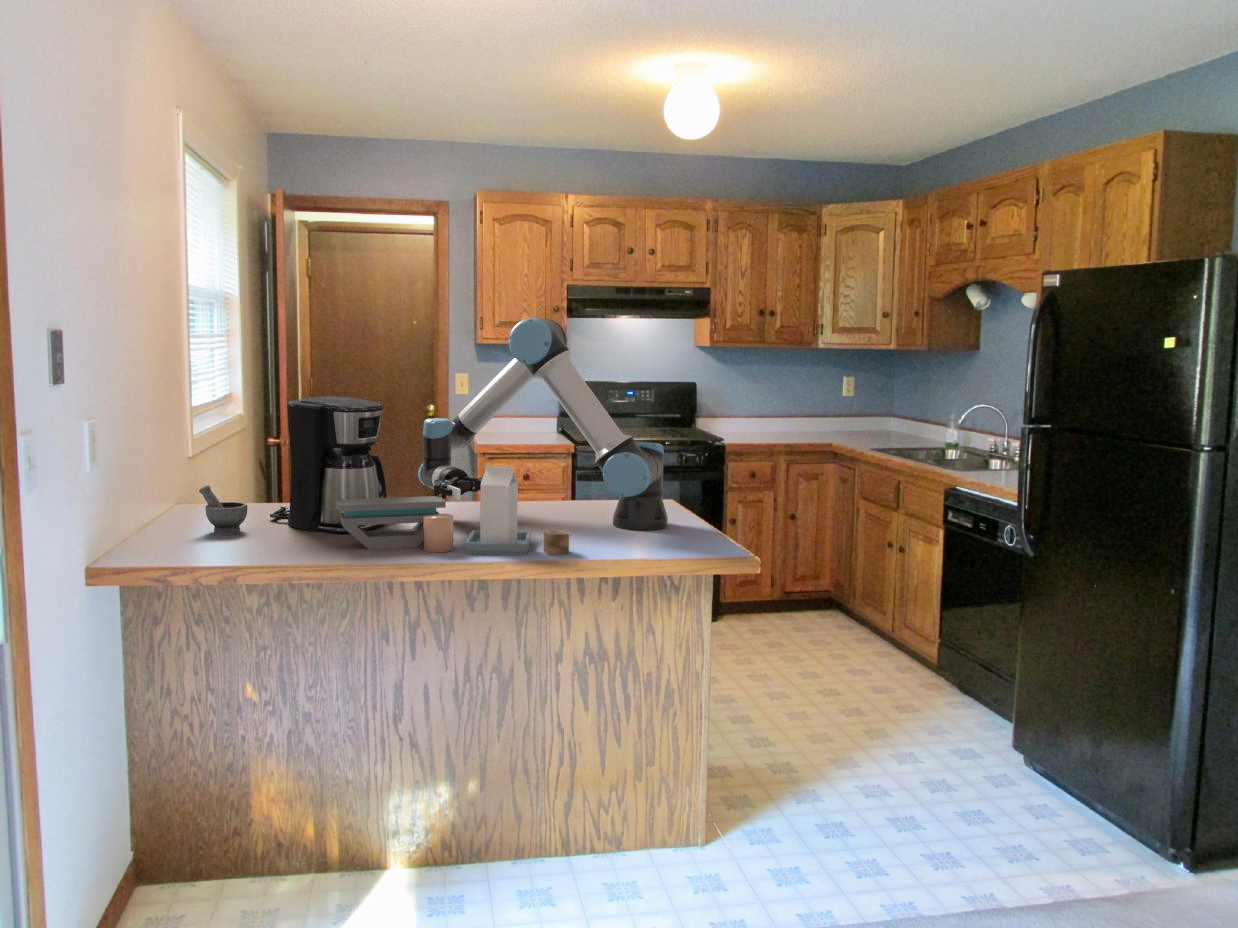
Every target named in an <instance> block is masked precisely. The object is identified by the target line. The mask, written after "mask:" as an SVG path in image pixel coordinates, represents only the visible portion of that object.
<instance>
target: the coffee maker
mask: <svg viewBox="0 0 1238 928" xmlns="http://www.w3.org/2000/svg"><path fill="white" fill-rule="evenodd" d="M286 408H287V409H286V410H287V425H288V426H287V427H288V439H289V440H288V443H289V456H290V458H289V459H290V460H289V461H290V490H289V506H285V507H284V506H280V508H279V509H278V510H276V511H273V513H270V514H269V517H270V518H272V519H279V520H286V521H287V525H288V526H290V527H291V528H296V529H300V530H305V531H310V532H311V531H312V532H317V531H319V532H326V533H334V534H335V533H336V534H341V535H345V534H350V533H349V532H348V531H347V530H345V529H344V527H343V525H342V523H341V513H345V512H339V511H338V509H337V507H336V500H339V499H368V498H387V486H386V485H387V484H386V479H385V472H384V470H383V466H382V462H381V460H380V458H379V456H377V455H374V454H371V453H370V451H372V446H373V445H375V444H376V443H377V442H378V439H379V434H380V429H381V424H382V419H383V412H384V409H383V408H384V407H383V404H381V403H380V402H377V401H374V400H369V399H362V398H356V397H347V396H338V395H330V396H329V395H326V396H325V395H323V396H311V397H304V398H303V397H302V398H299V399H293V400H289V401H288V402H287V404H286ZM287 509H288V510H287ZM384 525H385V524H377V525H359V526H360V527H361V528H362V529H363V530H364V531H369V530H373V529H375V528H378V527H379V528H380V527H381V526H384Z"/></svg>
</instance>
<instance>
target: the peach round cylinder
mask: <svg viewBox="0 0 1238 928" xmlns="http://www.w3.org/2000/svg"><path fill="white" fill-rule="evenodd" d="M423 528H424V541H423V551H424V550H425V551H424V552H426V553H427V552H428V553H446V552H451V551H453V550H454V548H455V545H454V544H455V543H454V542H455V540H454V538H455V537H454V515H453V514H451V513H450V514H449V513H439V514H429V515H425V516H423Z"/></svg>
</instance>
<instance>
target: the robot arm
mask: <svg viewBox="0 0 1238 928" xmlns="http://www.w3.org/2000/svg"><path fill="white" fill-rule="evenodd" d="M509 333H510V334H509V338H508V347H509V348H508V349H509V351H510V353H511V355H512V357H513V359H512V360H510V362H509V363H508V364H507V365H505V367H503V369H502V370H501V371H500V372H499V373H498V374H497V375H496V376H495V377H494V378H493V379H492V380H491V381H490V382H489V383H488V384H487V385H486V386H485V387H483V388H482V390H481V391H480V392H479V393H477V395H476V396H475V397H474V398H473V399H472V400H470V402H469V403H468V404H466V406H465V407H464V408H463V409H462V410H461V411H460V412H459V413H458V414H457V415H456V416H455V417H454V418H453V419H452V420H450V419H449V418H442V417H441V418H440V417H436V418H435V417H434V418H426V419H424V422H423V431H422V438H423V440H422V441H423V443H422V444H423V449H422V450H423V459H422V461H423V462H422V463H421V465H420V466H419V468H418V472H417V476H418V479H419V481H420V483H421V484H423V486H425V487H427V488H428V489H431V490H433V495H434V496H440V495H441V498H442V499H443V500H445V499H447V497H448V498H451V499H453V500H455V501H461V497H462V495H464V494H465V493H468V492H475V493H476V492H479V491H481V482H482V479H483V476H481V477H470V476H469V475H468V473H467V472H466V471H465V470H464V469H461V468H458V467H455V466H452V451H453V450H458V449H464V448H466V447H467V446H469V445H471V444H472V443H473V441H474V440H475V437H476V435H477V434H478V433H479V432H480V431H481V430H482V429H483V428H484V427H485V426H486V425H487V424H488V423H489V422H490V421H491V420H492V419H493V418H494V417H496V415H497V414H498V413H499V412H500V411H501V410H503V408H504V407H505V406H506V405H507V404H508V403H509V402H511V400H512V399H513V398H514V397H515V396H516V395H517V394H519V393H520V391H522V390H523V389H524V388H525V386H527V384H528V383H529V382H531V381H532V380H533V378H535V379H540V380H543V381H544V383H545V384H546V386H547V387H548V388H549V390H550V391H551V392H552V394H553V395H554V396H555V398H556V400H557V401H558V402H559V403H560V405H561V406H562V408H563V409H564V410H565V412H566V414H567V415H568V416H569V418H570V419H571V421H572V422H573V423H574V425H575V426H576V427H577V429H578V430H579V432H580V433H581V434H582V436H583V437H584V439H585V440H586V441H587V443H588V444H589V445H590V447H591V448H592V449H593V451H594V452H595V460H594V462H595V464H596V465H597V467H598V468H599V470H601V472H602V479H603V482H604V484H605V486H606V488H607V489H608V490H609V491H611V492H612V493H613V494H615V495H616V496H619V498H618V502H617V504H616V507H615V510H614V512H613V516H612V525H613V526H615V527H617V528H620V529H627V530H636V531H637V530H639V531H649V530H651V531H653V530H661V529H665V528H667V527H668V525H669V524H668V523H669V518H668V514H667V513H668V512H667V511H666V507H665V504H664V500H663V487H664V486H663V485H664V482H663V480H664V459H665V452H664V450H665V449H664V446H663V444H661V443H660V442H659V443H658V442H646V441H636V440H635V439H634V438H633V436H632V435H629V434H625V433H623V432H622V431H621V429H620V428H619V427H618V425H617V424H616V422H615V421H614V420H613V418H612V417H611V416H610V414H609V413H608V411H607V410H606V408H605V407H604V406H603V405H602V403H601V402H600V401H599V399H598V398H597V396H596V395H595V393H594V392H593V391H592V389H591V388H590V387H589V384H587V382H586V381H585V379H584V378H583V376H581V374H580V372H579V371H578V370H577V369H576V367H575V366H574V364H573V363H572V362H571V351H570V349H569V347H568V336H567V333H566V330H565V329H564V327H563V326H562V325H561V324H560V323H559V322H558V321H556V320H553V319H550V318H549V319H548V318H538V317H528V318H526V319H523V320H520V321H519V322H517V323H516V324H515V325H514V327H513V328H512V329H511V331H510V332H509Z"/></svg>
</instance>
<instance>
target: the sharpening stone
mask: <svg viewBox="0 0 1238 928" xmlns="http://www.w3.org/2000/svg"><path fill="white" fill-rule="evenodd" d="M446 502H447V501H446V500H445V499H442V496H440V495H438V496H433V495H432V496H429V495H428V496H407V497H406V496H404V497H403V496H398V497H386V498H368V499H339V500H336V507H337V509H338V511H339V512H345V513H341V523H342V525H343V527H344V529H345V530H347V531H348V532H349V533H348V534H350V535H351V536H352V537H354V538H355V539H356V540H357V541H358V542H359V543H360V544H361V545H363V546H364V547H365V548H366V549H368V550H383V549H399V548H400V547H401V549H402V548H403V547H404V548H418V547H419V546H420V545H421V544H422V543H424V528H423V516H425V515H429V514H440V512H438V510H437V509H442V508H443V509H444V508H446V507H447V506H446V504H447V503H446ZM377 524H384V525H395V524H415V526H413V528H406V529H404V528H403V529H383V530H363V529H362V528H361V527H360V526H359V525H377ZM417 546H418V547H417ZM404 548H403V549H404Z"/></svg>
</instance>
